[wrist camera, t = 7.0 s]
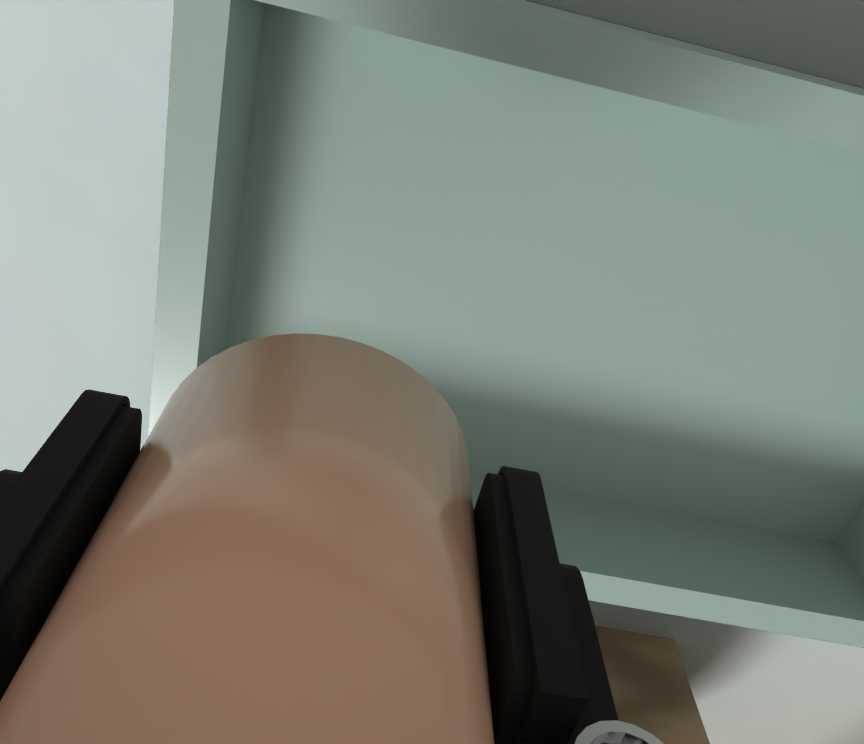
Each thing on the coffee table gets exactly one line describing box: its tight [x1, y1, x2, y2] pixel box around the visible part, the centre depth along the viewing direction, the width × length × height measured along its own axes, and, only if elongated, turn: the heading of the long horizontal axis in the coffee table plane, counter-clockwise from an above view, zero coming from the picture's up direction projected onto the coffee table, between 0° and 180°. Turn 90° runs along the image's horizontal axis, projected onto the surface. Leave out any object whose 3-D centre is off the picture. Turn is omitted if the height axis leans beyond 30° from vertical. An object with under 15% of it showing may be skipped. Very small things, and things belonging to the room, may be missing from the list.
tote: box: [148, 0, 864, 648], centre depth 20 cm, size 22×14×4 cm, turn 77°
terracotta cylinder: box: [0, 333, 494, 744], centre depth 9 cm, size 5×5×7 cm
